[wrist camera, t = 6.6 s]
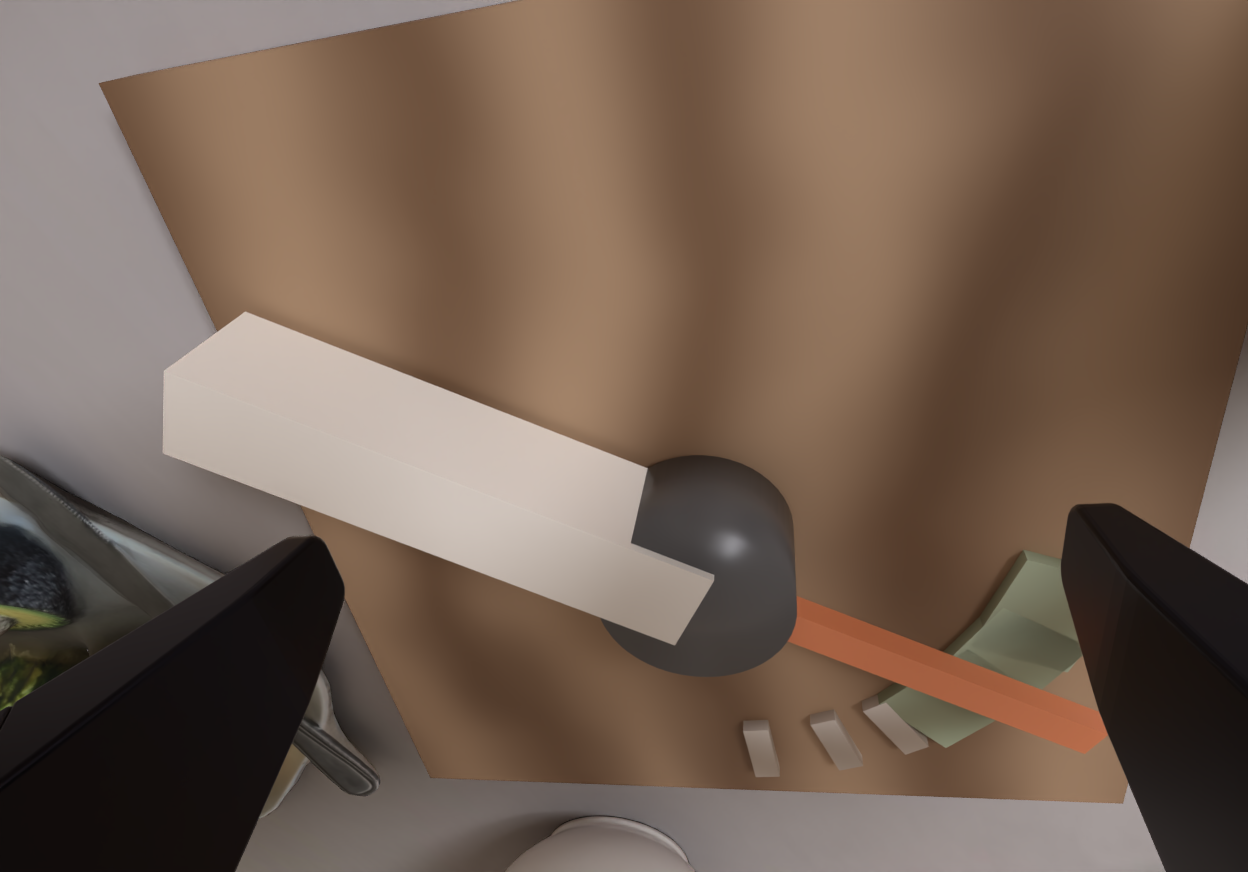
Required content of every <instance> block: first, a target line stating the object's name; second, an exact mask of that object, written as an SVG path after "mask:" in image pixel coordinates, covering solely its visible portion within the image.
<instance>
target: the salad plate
mask: <svg viewBox="0 0 1248 872" xmlns="http://www.w3.org/2000/svg"><path fill="white" fill-rule="evenodd" d="M224 575H225V574H222V573H220V572H218V571H216V570H214V569H212V568H210V567H209V566H207V565H205V564H203V563H201V562H199V561H197V560H195V559H193V558H191V557H189V556H187V555H186V554H184V553H182V552H180V551H178V550H176V549H174V548H172V547H171V546H169V545H167V544H165V543H163V542H162V541H160V540H158V539H156V538H154V537H153V536H151V535H149V534H147V533H145V532H143V531H141V530H140V529H138V528H136V527H135V526H133V525H132V524H130V523H128V522H126V521H124V520H122V519H120V518H119V517H117V516H115V515H113V514H111V513H109V512H107V511H105V510H103V509H101V508H99V507H97V506H95V505H93V504H91V503H89V502H87V501H85V500H83V499H81V498H79V497H76V496H74V495H72V494H70V493H68V492H66V491H64V490H62V489H60V488H58V487H57V486H55V485H53V484H52V483H50V482H48V481H46V480H45V479H43V478H41V477H40V476H38V475H36V474H34V473H32V472H31V471H29V470H27V469H25V468H23V467H22V466H20V465H18V464H17V463H15V462H13V461H11V460H9V459H7V458H5V457H2V456H0V711H1V710H2V709H4V708H6V707H8V706H12V707H13V705H14V703H15V702H16V701H17V700H19V699H21V698H22V697H24V696H26V695H27V694H29V693H31V692H32V691H34V690H36V689H37V688H39V687H41V686H42V685H44V684H46V683H47V682H49V681H51V680H52V679H54V678H55V677H57V676H59V675H60V674H62V673H64V672H65V671H67V670H69V669H70V668H72V667H74V666H75V665H77V664H79V663H80V662H82V661H84V660H85V659H87V658H89V657H90V656H92V655H94V654H95V653H97V652H98V651H100V650H102V649H103V648H105V647H107V646H108V645H110V644H112V643H113V642H115V641H117V640H118V639H120V638H122V637H123V636H125V635H127V634H128V633H130V632H132V631H133V630H135V629H137V628H138V627H140V626H142V625H143V624H145V623H146V622H148V621H150V620H151V619H153V618H155V617H156V616H158V615H160V614H161V613H163V612H165V611H166V610H168V609H170V608H171V607H173V606H175V605H176V604H178V603H180V602H181V601H183V600H185V599H186V598H188V597H189V596H191V595H193V594H194V593H196V592H198V591H199V590H201V589H203V588H204V587H206V586H208V585H209V584H211V583H213V582H214V581H216V580H218V579H219V578H221V577H223V576H224ZM87 649H88V651H87ZM310 762H312V763H313V764H314V765H315V766H316V767H317V768H318V769H319V770H320V771H321V772H322V773H324V774H325V775H326V776H327V777H328V778H329V779H330V780H331V781H332V782H333V783H334V784H336V785H337V786H338V787H340V789H341V790H343V791H345V792H346V793H348V794H352V795H357V796H368V795H370V794H372V793H374V792H375V791H376V790H377V788H378V786H379V785H380V777H379V775H378V773H377V772H376V770H375V769H374V767H373V766H372V765H371V764H370V763H369V762H368V761H367V759H366V758H365V757H364V756H363V755H362V754H361V753H360V752H359V751H358V750H357V749H356V748H355V747H354V746H353V745H352V744H351V743H350V742H349V741H348V739H347V738H346V736H345V735H344V733H343V732H342V730H341V729H340V726H339V724H338V722H337V720H336V717H335V715H334V712H333V705H332V699H331V689H330V684H329V682H328V680H327V678H326V676H325V674H324V673H323V671H322V669H321V672H320V675H319V678H318V681H317V684H316V687H315V689H314V692H313V695H312V698H311V701H310V703H309V706H308V708H307V710H306V713H305V715H304V718H303V720H302V722H301V725H300V727H299V729H298V731H297V734H296V736H295V738H294V740H293V743H292V745H291V747H290V749H289V752H288V754H287V756H286V758H285V761H284V763H283V765H282V767H281V770H280V772H279V774H278V776H277V779H276V781H275V783H274V785H273V788H272V790H271V792H270V794H269V797H268V799H267V801H266V803H265V806H264V808H263V810H262V812H261V815H260V817H259V819H260V818H262V817H264V816H266V815H269V814H270V813H271V812H272V811H274V810H275V809H276V808H277V807H279V806H280V804H281V803H282V801H283V799H284V797H285V795H286V794H287V793H288V792H289V791H290V790H291V789H292V788H293V786H294V785H295V784H296V783H297V782H298V780H299V778H300V775H301V774H302V772H303V771H304V768H305V766H306V765H307V764H308V763H310Z"/></svg>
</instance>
